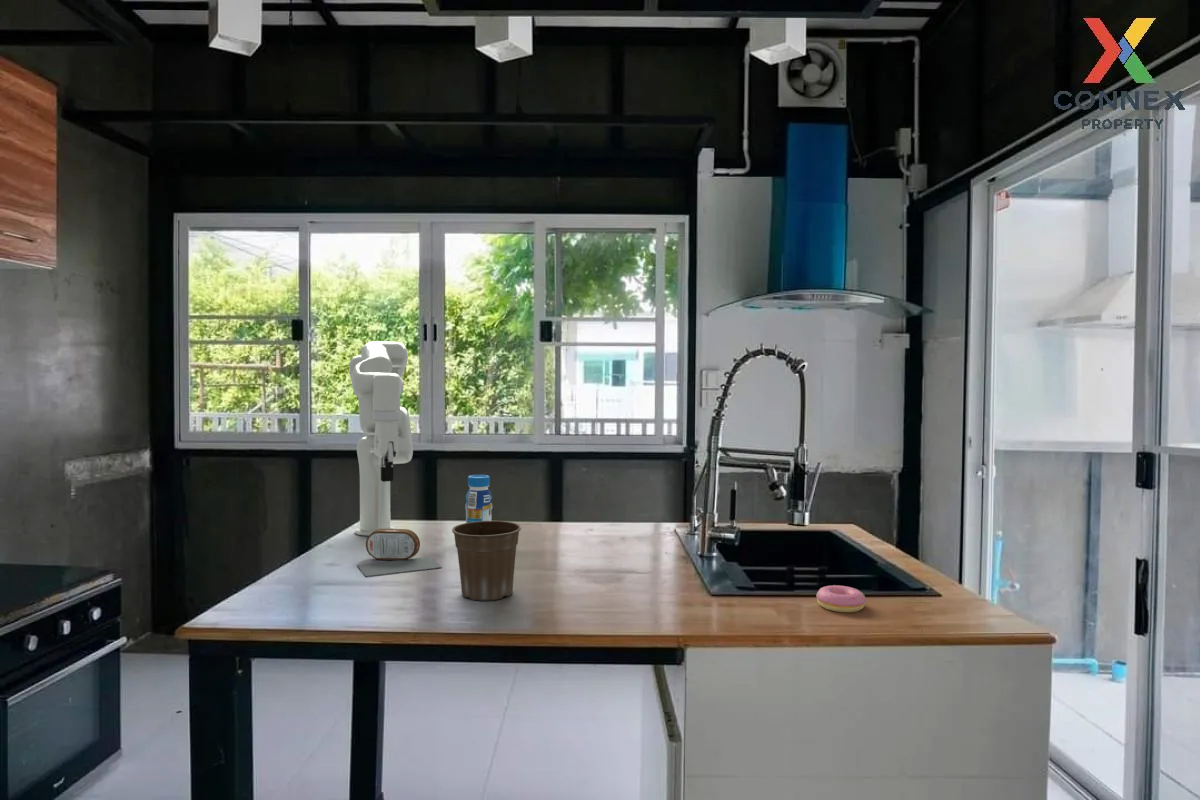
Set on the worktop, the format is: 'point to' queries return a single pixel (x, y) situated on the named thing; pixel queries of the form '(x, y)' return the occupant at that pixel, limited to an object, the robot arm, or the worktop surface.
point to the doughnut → (841, 598)
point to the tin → (392, 544)
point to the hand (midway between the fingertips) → (387, 480)
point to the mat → (398, 566)
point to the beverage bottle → (478, 499)
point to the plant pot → (486, 558)
